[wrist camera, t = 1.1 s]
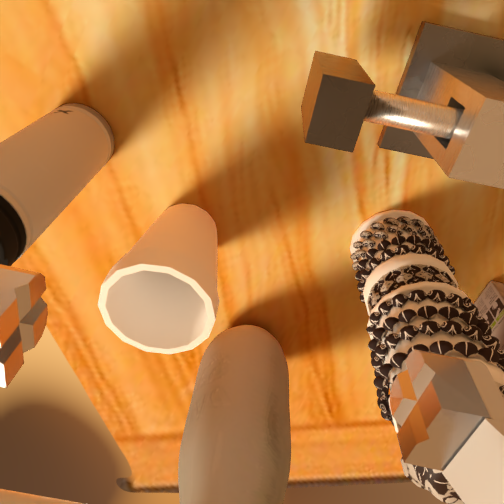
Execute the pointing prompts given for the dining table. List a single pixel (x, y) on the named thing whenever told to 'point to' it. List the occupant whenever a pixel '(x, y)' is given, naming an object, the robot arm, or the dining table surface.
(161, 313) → the foam cup
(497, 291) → the coffee box
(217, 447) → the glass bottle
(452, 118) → the shaft
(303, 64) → the dining table surface
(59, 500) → the robot arm
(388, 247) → the decorative candle
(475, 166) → the bearing stand
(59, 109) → the travel mug
